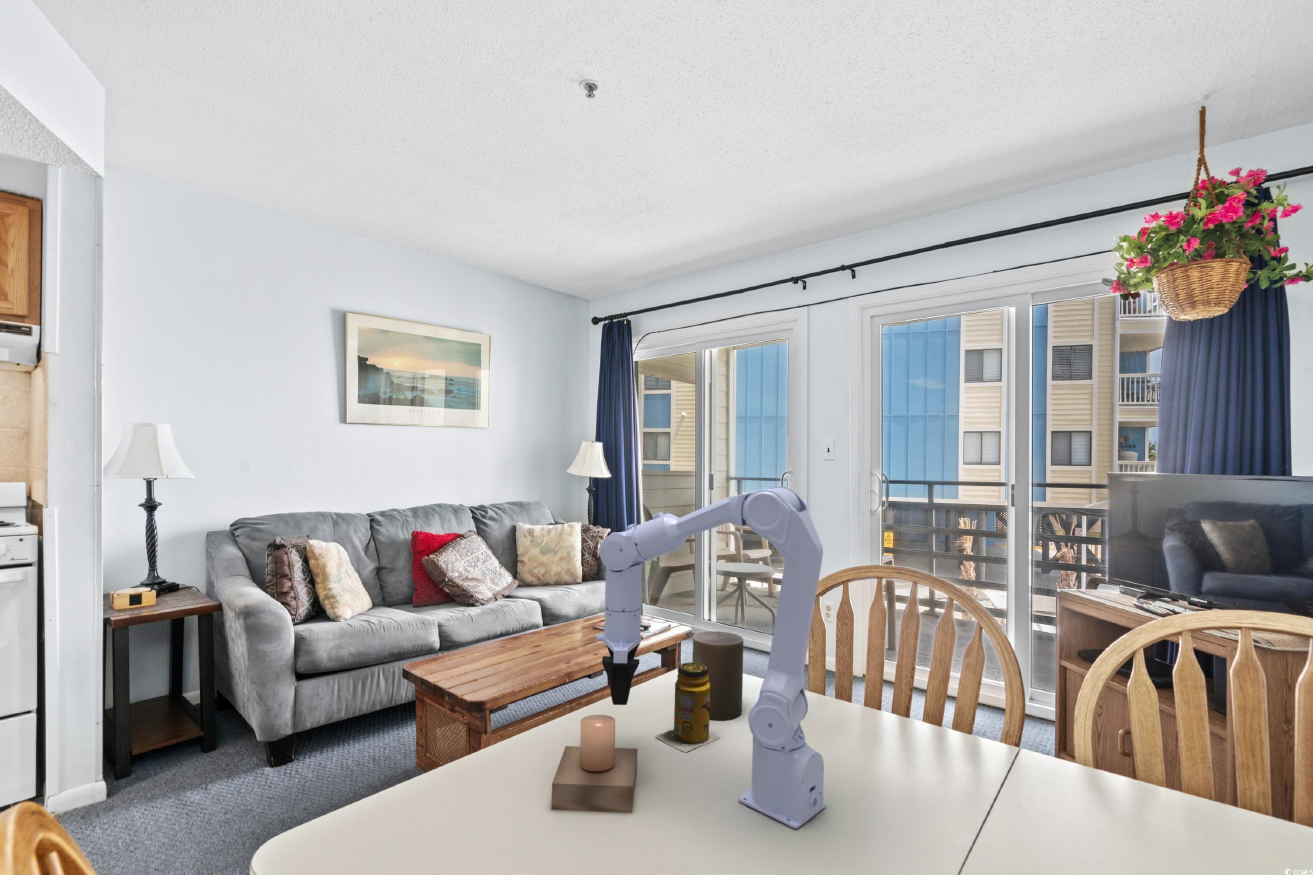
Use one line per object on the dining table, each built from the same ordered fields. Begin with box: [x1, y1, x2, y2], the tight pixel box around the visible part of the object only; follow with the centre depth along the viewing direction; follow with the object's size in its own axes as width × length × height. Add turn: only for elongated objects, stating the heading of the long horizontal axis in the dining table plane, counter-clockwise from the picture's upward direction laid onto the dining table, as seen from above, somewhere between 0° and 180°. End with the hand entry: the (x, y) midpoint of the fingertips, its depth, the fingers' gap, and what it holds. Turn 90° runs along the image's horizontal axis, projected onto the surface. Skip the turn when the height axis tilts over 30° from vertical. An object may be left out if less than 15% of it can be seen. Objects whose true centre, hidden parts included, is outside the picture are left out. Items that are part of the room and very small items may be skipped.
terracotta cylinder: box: [579, 714, 616, 771], centre depth 93 cm, size 5×5×6 cm
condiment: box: [654, 662, 720, 753], centre depth 110 cm, size 7×8×12 cm
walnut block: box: [551, 745, 639, 814], centre depth 93 cm, size 11×11×4 cm
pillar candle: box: [691, 630, 744, 721], centre depth 122 cm, size 10×10×15 cm
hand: (620, 694), depth 101 cm, fingers open, 7 cm apart
